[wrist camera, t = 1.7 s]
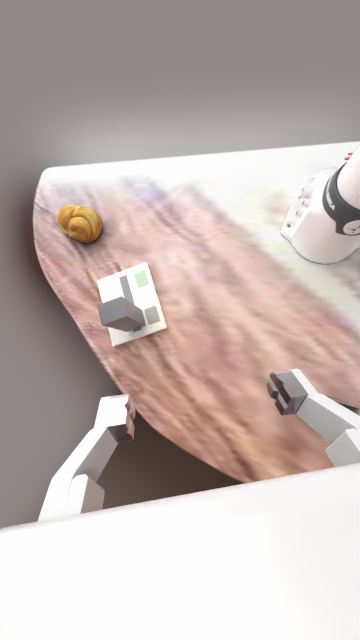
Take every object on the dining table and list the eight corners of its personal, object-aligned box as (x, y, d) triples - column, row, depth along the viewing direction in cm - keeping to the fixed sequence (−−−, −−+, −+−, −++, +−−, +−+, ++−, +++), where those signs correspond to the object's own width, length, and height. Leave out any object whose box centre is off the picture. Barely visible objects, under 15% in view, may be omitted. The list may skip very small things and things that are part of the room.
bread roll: (60, 236, 56) (36, 216, 48) (77, 209, 57) (57, 186, 49) (94, 252, 53) (74, 234, 45) (111, 223, 54) (95, 201, 46)
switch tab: (122, 316, 46) (97, 305, 35) (141, 309, 46) (121, 296, 35) (126, 332, 45) (101, 325, 35) (146, 325, 45) (126, 316, 34)
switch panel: (100, 282, 51) (96, 280, 49) (148, 264, 50) (146, 261, 48) (115, 346, 47) (112, 346, 46) (168, 328, 46) (166, 327, 44)
